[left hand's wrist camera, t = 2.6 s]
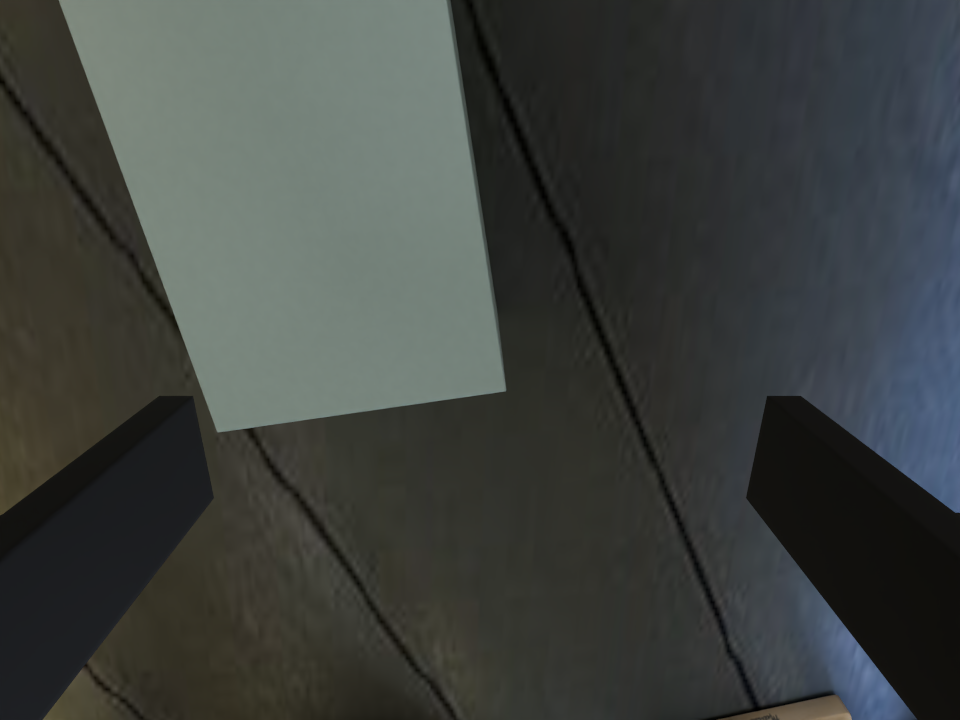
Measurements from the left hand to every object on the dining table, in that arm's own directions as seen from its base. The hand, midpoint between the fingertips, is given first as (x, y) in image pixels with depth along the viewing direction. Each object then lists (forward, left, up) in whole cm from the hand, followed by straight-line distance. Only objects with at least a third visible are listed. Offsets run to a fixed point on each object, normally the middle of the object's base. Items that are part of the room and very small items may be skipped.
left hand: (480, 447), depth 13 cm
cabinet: (-2, +8, -18) cm, 20 cm away
